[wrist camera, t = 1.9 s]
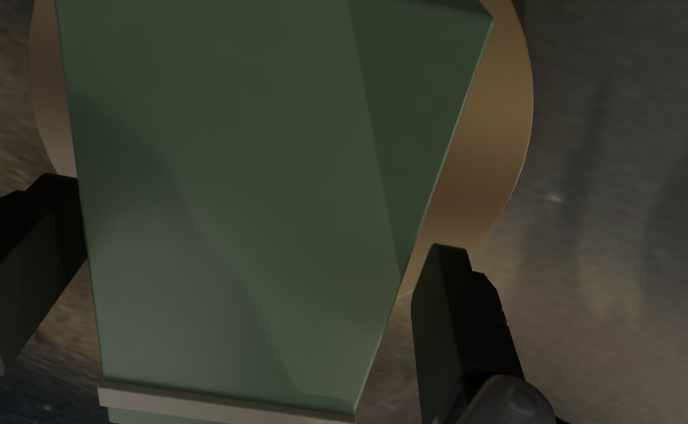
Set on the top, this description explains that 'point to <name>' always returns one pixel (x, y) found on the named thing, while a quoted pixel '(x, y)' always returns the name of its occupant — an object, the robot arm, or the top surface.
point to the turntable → (462, 159)
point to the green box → (256, 191)
